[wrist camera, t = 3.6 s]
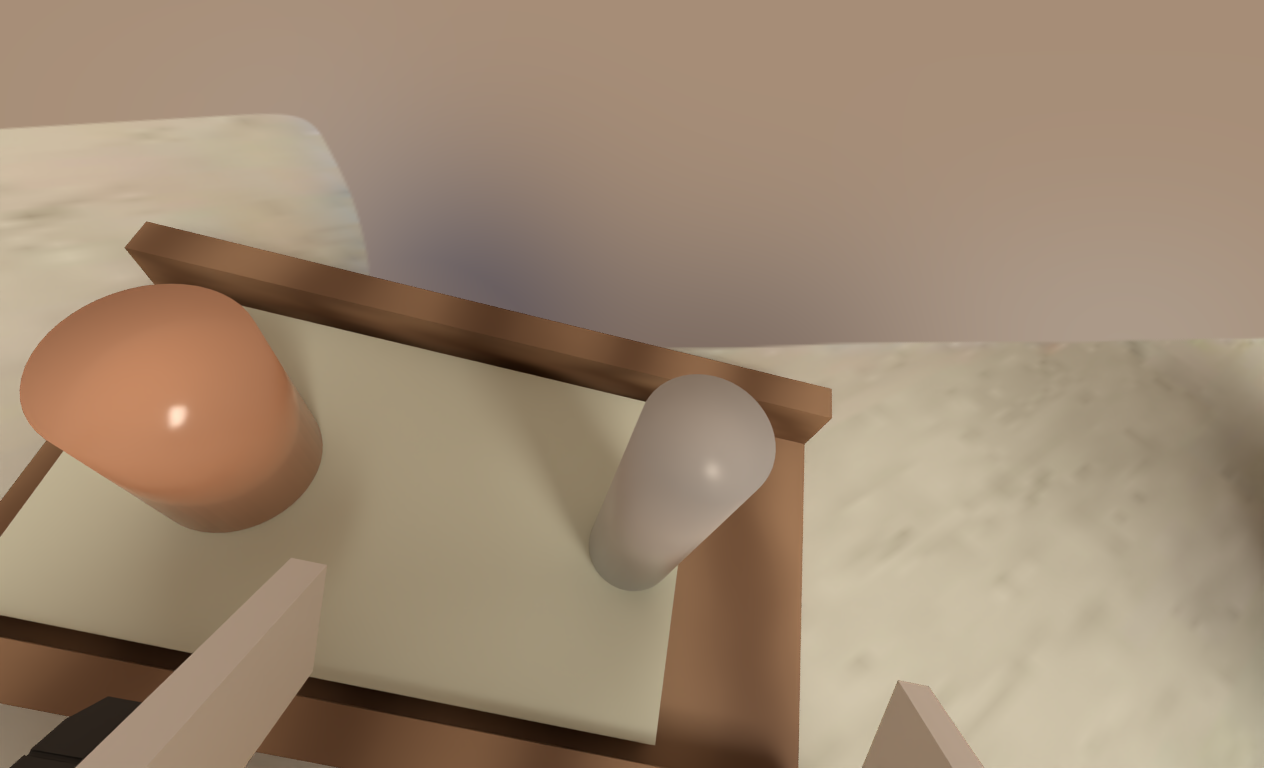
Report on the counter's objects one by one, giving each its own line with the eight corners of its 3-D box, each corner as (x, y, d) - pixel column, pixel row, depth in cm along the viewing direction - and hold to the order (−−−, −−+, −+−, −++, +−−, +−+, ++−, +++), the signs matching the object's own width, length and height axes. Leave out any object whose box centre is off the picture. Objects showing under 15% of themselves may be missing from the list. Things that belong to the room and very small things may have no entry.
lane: (797, 425, 32) (831, 389, 28) (785, 840, 22) (835, 861, 19) (188, 279, 30) (146, 221, 26) (-101, 671, 20) (-224, 660, 17)
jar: (335, 501, 23) (274, 420, 17) (154, 556, 21) (15, 486, 15) (309, 376, 26) (249, 267, 20) (145, 414, 24) (23, 306, 18)
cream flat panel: (690, 425, 29) (790, 258, 19) (648, 744, 22) (770, 763, 12) (193, 307, 28) (-1, 54, 17) (-22, 610, 21) (-571, 495, 10)
